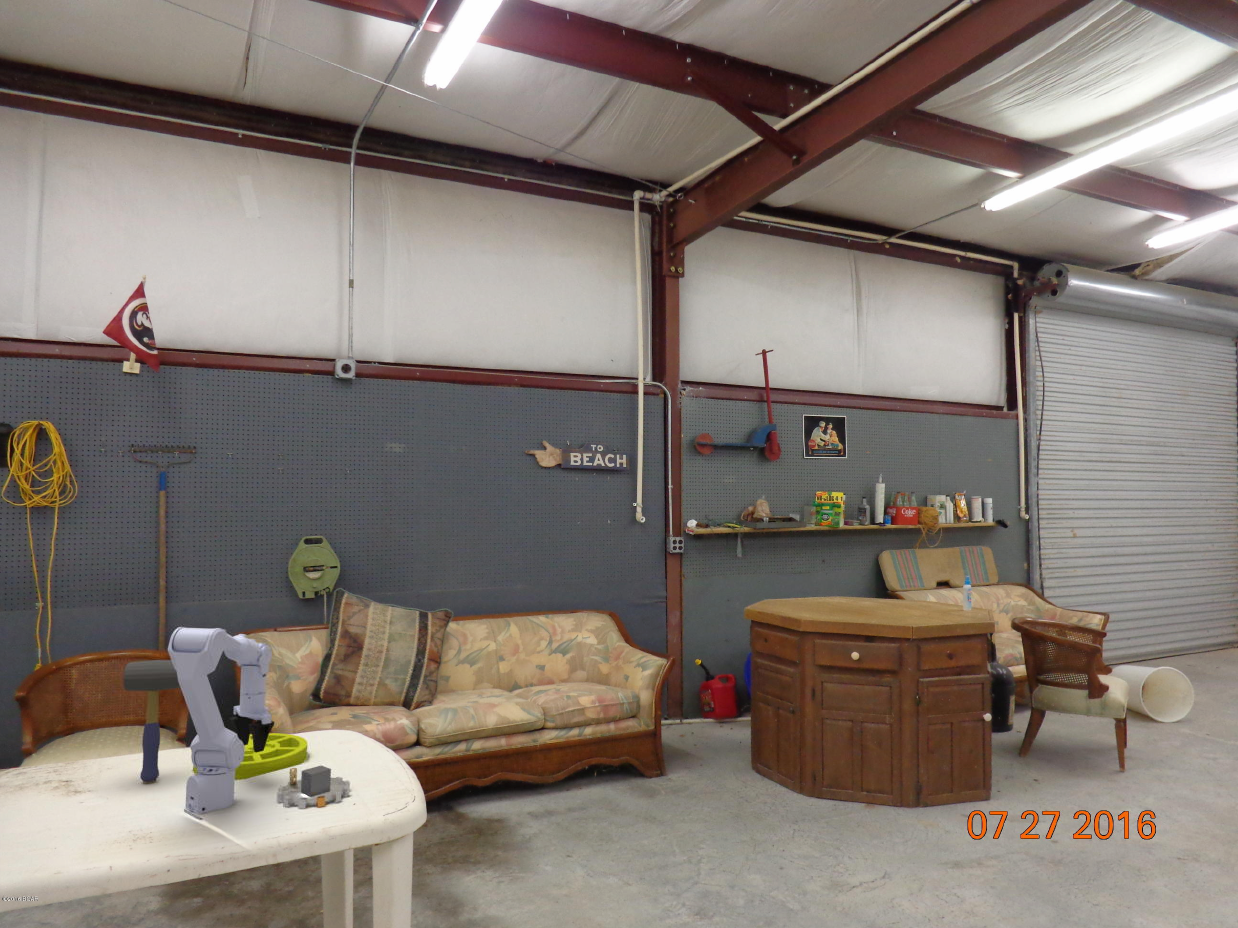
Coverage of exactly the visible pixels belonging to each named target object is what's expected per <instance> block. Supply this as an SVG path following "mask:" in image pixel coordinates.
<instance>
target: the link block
mask: <svg viewBox="0 0 1238 928" xmlns="http://www.w3.org/2000/svg"><path fill="white" fill-rule="evenodd" d="M331 775H332V768H329V767H327V766H324V765H321V764H320V765H318V766H314V767H311V768H306V769H304V770H301V776H300V777H301V779H300V780H301V793H303V794H305V795H307V796H310V797H312V796H315V795H318V794H322V793H325V792H328V791H330V784H331V777H332V776H331Z"/></svg>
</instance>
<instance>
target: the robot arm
mask: <svg viewBox="0 0 1238 928" xmlns="http://www.w3.org/2000/svg"><path fill="white" fill-rule="evenodd" d="M167 652H168V655H169V657H170V660H171V661H172V663H173V666H174V669H175V670H176V671H177V677H178V682H179V685H180V687H179V688H180V690H181V692H182V695H183V697H184V698H183V699H184V700H185V704H186V707H187V709H188V711H189V712H188V713H189V715H190V718H191V720H192V723H193V726H194V728H195V732H196V735H195V737H194V738H193V740H192V741H191V744H190V745H189V748H190V750H191V756H190V757H191V762H192V765H194V766H195V767H197V772H199V773H197V774H194V775H191V776H189V777H188V778H187V782H186V787H185V788H186V790H185V808H184V809H183V812H184V813H186V814H188V815H190V816H191V817H194V818H195V819H197V820H200V821H201V820H203V818H201V817H200V816H197V815H201V814H205V813H208V812H212V811H217V810H222V809H226V808H228V807H231V806H232V805H233V804H234V802H235V785H236V784H235V782H236V780H235V769H236V768H237V767H238V766H239V765H240V764H241V762H242V760H243V758H244V754H245V747H244V745H248V742H249V736H250V734H252V737H253V748H254V752H255V753H257V752H261V751H264V748H265V744H266V741H267V738H268V735H269V733H271V730H272V729H273V727H274V726H275V721H274V720H272V714H270V713H269V712H270V708H269V707H268V706H266V693H267V673H269V670H270V663H271V660H272V657H273V653H272V649H271V647H270V645H268V644H267V643H260V642H259V643H258V642H256V640H255V639H254V638H248V635H247V634H244V633H239V634H238V635H234V636H232V635H231V634H230V633H229V634H228V633H227V630H226V629H223V628H220V627H216V628H215V627H214V628H200V627H199V628H198V627H184V626H180V627H176V629H175V630H173V632H172V634H171V636H170V639H169V643H168V646H167ZM223 652H224V653H223ZM222 654H224V655H225V656H226V657H227V659H228V660H231V661H235V662H236V664H237V666H238V667H239V668H240V690H239V693H240V694H239V695H240V696H239V705H235V706H233V715H235V716H233V717H230V718H229V721H230V723H231V725H232V727H233V729H234V731H233V730H230V729H228V728H226V727H225V725H224V722H223V718H222V716H221V712H220V710H219V709H220V708H219V706H218V704H217V700H216V697H215V695H214V691H213V689H212V686H211V684H210V681H209V677H208V675H209V674H211V673H213V672H214V671H216V668H217V666H218V664H219V662H220V659H221V656H222ZM268 711H269V712H268ZM253 721H256V722H253Z"/></svg>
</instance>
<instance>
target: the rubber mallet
mask: <svg viewBox="0 0 1238 928" xmlns="http://www.w3.org/2000/svg"><path fill="white" fill-rule="evenodd" d="M122 682H123V683H122V684H123V685H122V686H123V688H124V689H125V691H127V692H128V691H130V692H133V691H134V692H135V691H136V692H147V698H146V699H147V702H146V720H145V724H144V727H143V732H142V743H141V744H142V753H143V755H142V769H141V771H140V780H141V781H142V783H143V784H152V783H156V781H157V779H158V778H159V776H160V770H159V750H160V744H161V730H160V729H161V728H160V723H159V707H160V706H159V704H160V703H159V702H160V700H159V699H160V698H159V697H160V691H164V690H165V691H166V690H174V689H179V688H181V687H180V685H179V682H178V677H177V671H176V670H175V669H174V666H173V663H172V661H171V659H153V660H141V661H131V662H128V663H127V664H126V665H125V667H124V669H123V679H122Z"/></svg>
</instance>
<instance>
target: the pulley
mask: <svg viewBox="0 0 1238 928" xmlns="http://www.w3.org/2000/svg"><path fill="white" fill-rule="evenodd" d="M244 747H245V754H244V758H243V760H242V762H241V764H240V765H239V766H238V767H237V768H236V769H235V781H238V780H239V781H240V780H242V779H243V780H247V779H250V778H254V777H259V776H262V775H266V774H270V773H273V772H276V771H280V770H284V769H288V768H294V767H296V766H300V765H303V764H304V763H305V762H306V761H307V759H306V758H308V752H307V751H308V741H307V739H305V738H303V737H302V736H299V735H295V734H291V733H290V734H289V733H277V732H276V733H275V732H274V733H273V732H270V733H269V735H268V738H267V741H266V744H265V748H264V751H261V752H257V753H255V752H254V748H253V737H252V733H250V736H249V742H248V745H244ZM305 760H306V761H305ZM304 761H305V762H304ZM303 762H304V763H303ZM302 763H303V764H302ZM192 765H193V764H192ZM192 769H193V770H192V771H193V772H195V773H196V774H197V773H199V772H197V767H195V766H194V765H193V768H192ZM196 774H195V775H196Z"/></svg>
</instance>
